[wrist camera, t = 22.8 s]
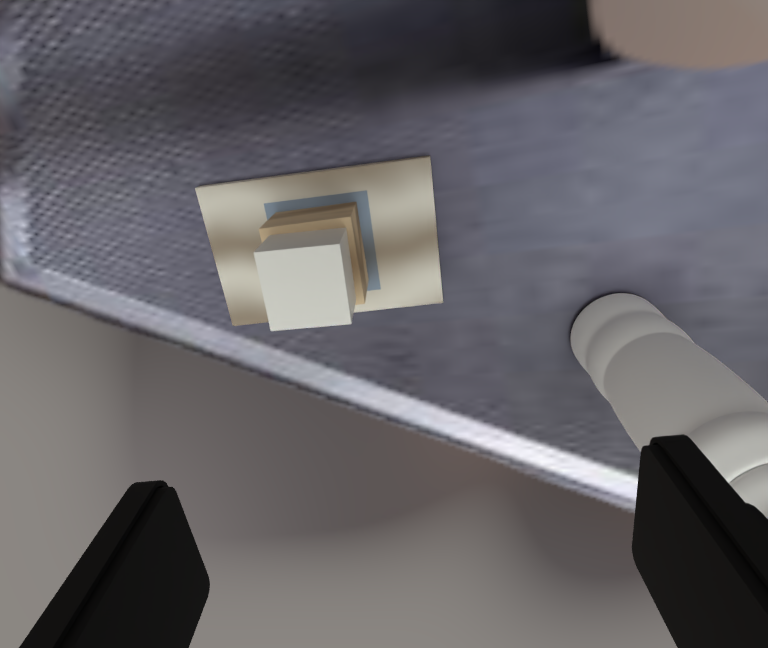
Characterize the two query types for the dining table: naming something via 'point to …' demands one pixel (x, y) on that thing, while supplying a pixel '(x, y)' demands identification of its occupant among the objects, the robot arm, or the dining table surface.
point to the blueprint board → (321, 188)
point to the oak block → (323, 220)
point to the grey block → (306, 279)
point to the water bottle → (674, 389)
